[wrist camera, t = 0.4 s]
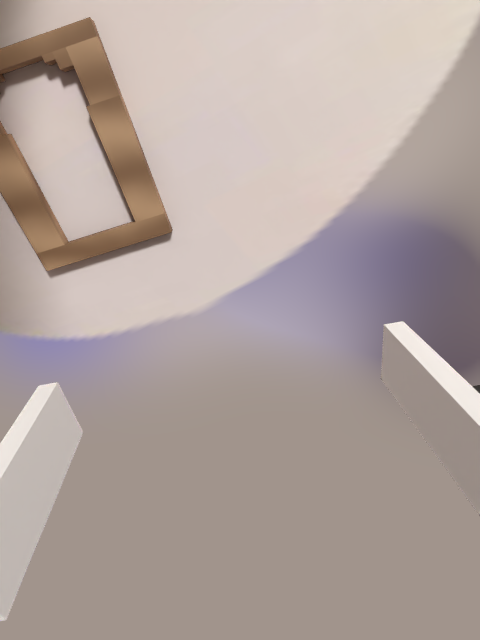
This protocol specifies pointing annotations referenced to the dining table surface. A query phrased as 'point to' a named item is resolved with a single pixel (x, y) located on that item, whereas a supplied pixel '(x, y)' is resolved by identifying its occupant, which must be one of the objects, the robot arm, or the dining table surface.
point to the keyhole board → (117, 139)
